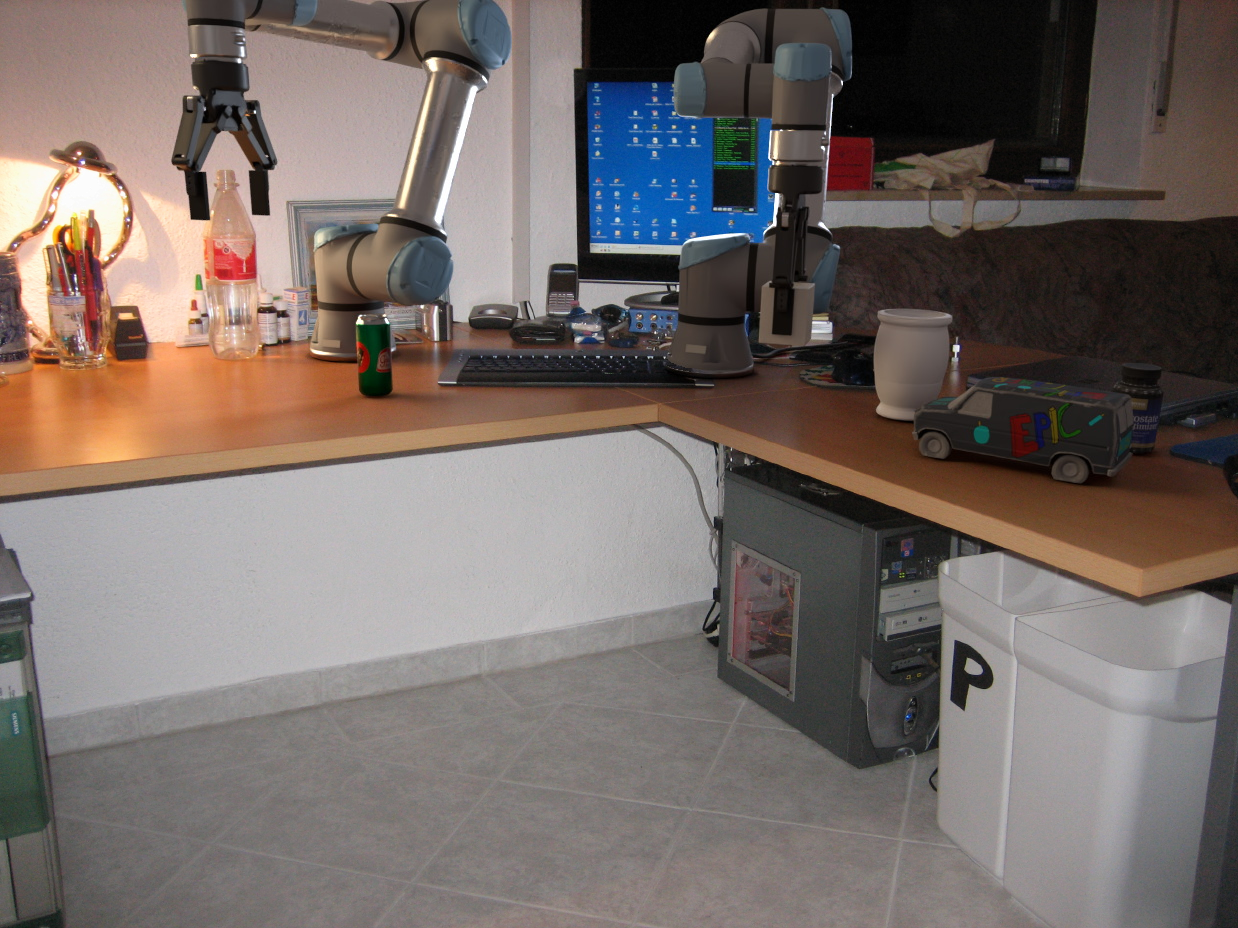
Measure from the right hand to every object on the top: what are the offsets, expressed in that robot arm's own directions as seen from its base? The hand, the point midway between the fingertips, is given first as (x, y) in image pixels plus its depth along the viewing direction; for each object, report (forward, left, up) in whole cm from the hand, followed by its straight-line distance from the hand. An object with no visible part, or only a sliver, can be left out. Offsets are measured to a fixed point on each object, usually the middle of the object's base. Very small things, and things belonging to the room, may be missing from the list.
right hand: (785, 330), depth 154 cm
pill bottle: (-16, +44, -12) cm, 48 cm away
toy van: (+1, +36, -12) cm, 38 cm away
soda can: (+36, -50, -12) cm, 63 cm away
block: (0, 0, -2) cm, 2 cm away
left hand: (+50, -63, +14) cm, 82 cm away
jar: (-12, +14, -12) cm, 22 cm away
